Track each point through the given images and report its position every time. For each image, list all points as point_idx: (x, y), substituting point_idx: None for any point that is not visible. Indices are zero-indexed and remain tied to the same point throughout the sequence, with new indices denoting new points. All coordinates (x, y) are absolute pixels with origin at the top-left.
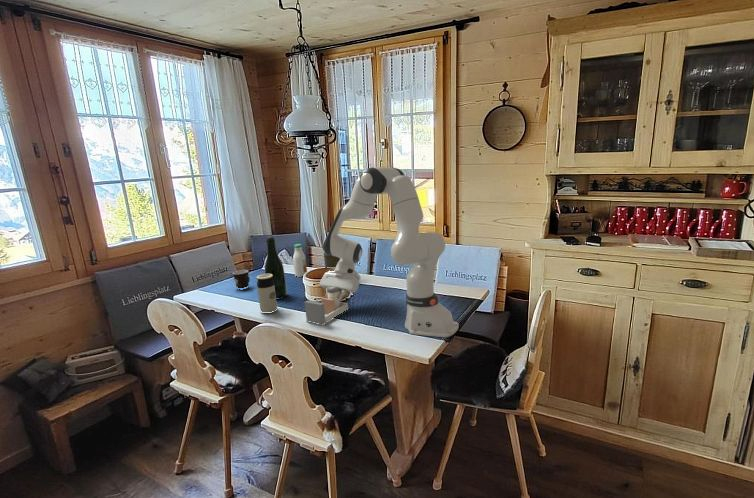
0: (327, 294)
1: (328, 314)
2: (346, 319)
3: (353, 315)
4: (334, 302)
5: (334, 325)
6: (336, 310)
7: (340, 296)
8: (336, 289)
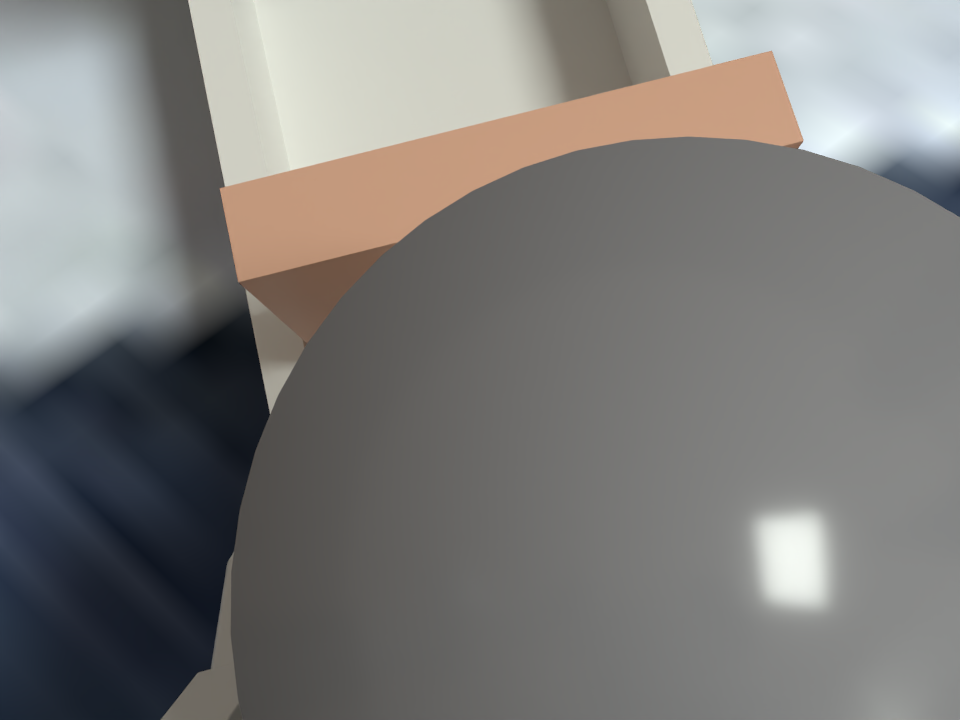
0: None
1: (226, 62)
2: (22, 403)
3: (38, 652)
4: (268, 298)
5: (27, 77)
6: (256, 341)
7: (227, 627)
8: (249, 530)
